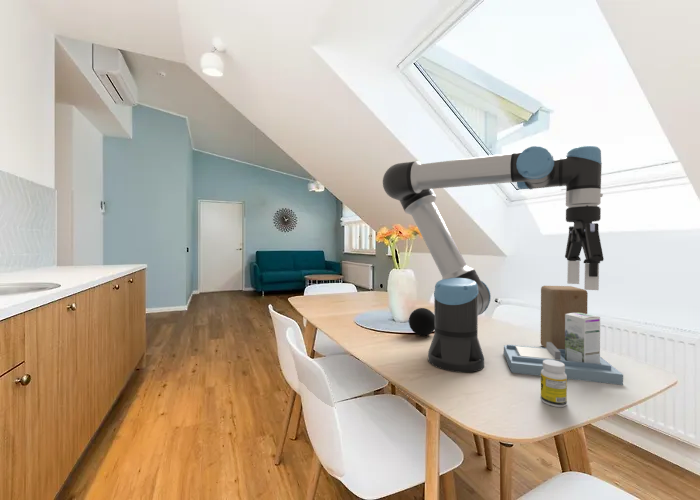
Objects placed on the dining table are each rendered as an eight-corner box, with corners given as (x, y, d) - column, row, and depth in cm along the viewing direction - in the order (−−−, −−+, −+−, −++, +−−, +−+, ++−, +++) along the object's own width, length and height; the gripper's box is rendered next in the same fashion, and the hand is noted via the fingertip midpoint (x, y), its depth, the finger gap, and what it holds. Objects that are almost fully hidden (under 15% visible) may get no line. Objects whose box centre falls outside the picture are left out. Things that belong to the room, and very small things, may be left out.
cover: (520, 359, 88) (520, 348, 87) (515, 349, 96) (515, 339, 96) (561, 363, 84) (561, 352, 84) (552, 352, 93) (552, 342, 93)
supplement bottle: (543, 394, 72) (543, 357, 72) (568, 401, 69) (568, 362, 69) (538, 402, 69) (538, 363, 69) (564, 410, 66) (565, 368, 66)
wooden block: (588, 356, 97) (589, 290, 97) (551, 354, 99) (552, 289, 99) (572, 346, 107) (573, 285, 107) (539, 344, 109) (539, 285, 109)
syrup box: (601, 371, 85) (601, 316, 85) (583, 374, 83) (584, 317, 83) (580, 364, 90) (580, 311, 90) (563, 366, 89) (564, 313, 89)
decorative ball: (440, 338, 117) (440, 310, 117) (414, 339, 115) (414, 311, 115) (430, 331, 127) (430, 305, 126) (405, 332, 125) (405, 306, 125)
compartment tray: (511, 372, 85) (511, 359, 85) (503, 353, 100) (503, 342, 100) (623, 384, 77) (623, 370, 77) (596, 362, 93) (596, 349, 93)
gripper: (622, 200, 73) (620, 293, 74) (582, 211, 97) (581, 282, 97) (583, 201, 76) (581, 292, 76) (553, 211, 99) (552, 281, 100)
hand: (581, 286), depth 87 cm, fingers open, 13 cm apart
